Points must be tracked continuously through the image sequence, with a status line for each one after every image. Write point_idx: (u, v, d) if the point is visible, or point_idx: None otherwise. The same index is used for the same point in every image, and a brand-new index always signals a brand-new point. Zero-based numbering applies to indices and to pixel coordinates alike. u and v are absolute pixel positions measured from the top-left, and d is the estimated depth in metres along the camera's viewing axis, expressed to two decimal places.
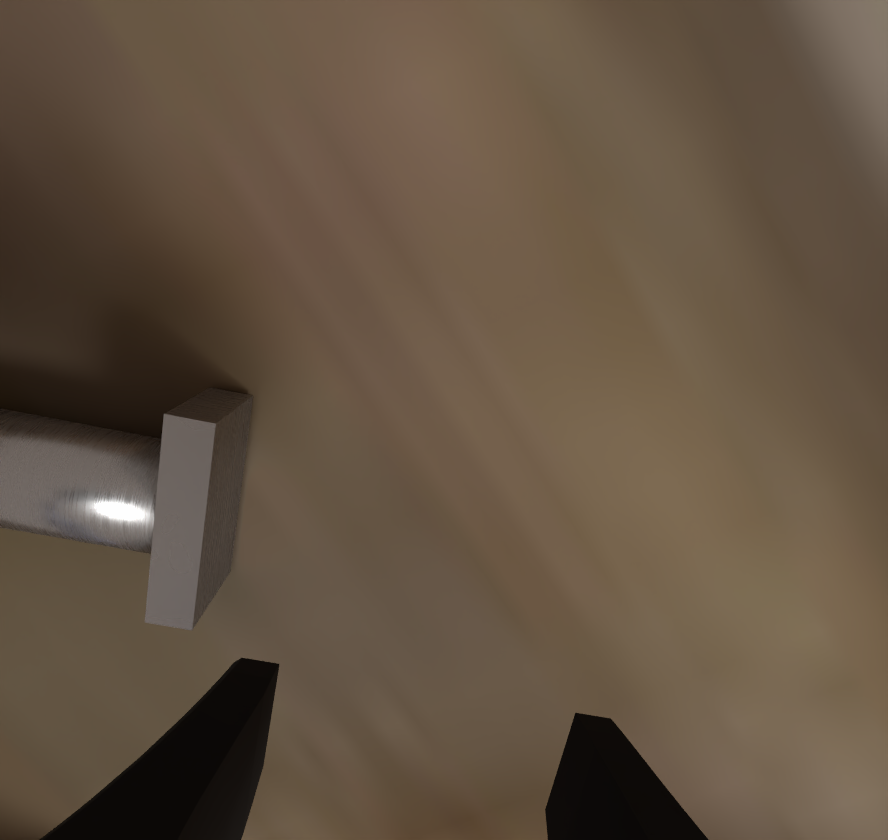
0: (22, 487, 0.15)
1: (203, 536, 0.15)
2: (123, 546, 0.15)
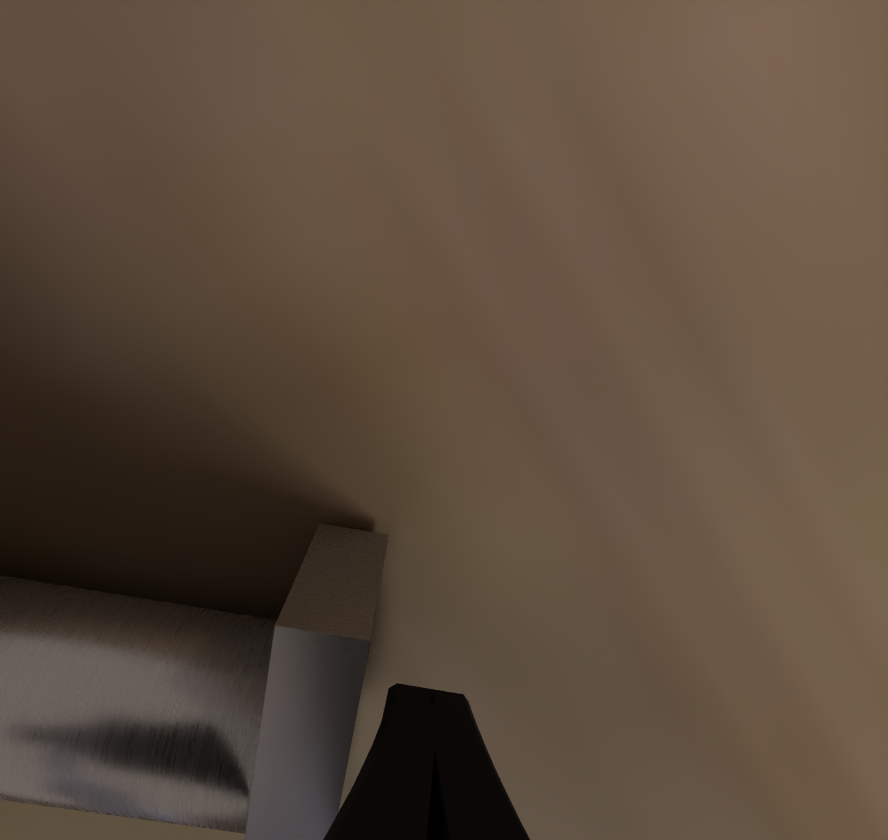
0: (13, 749, 0.08)
1: None
2: (191, 825, 0.09)
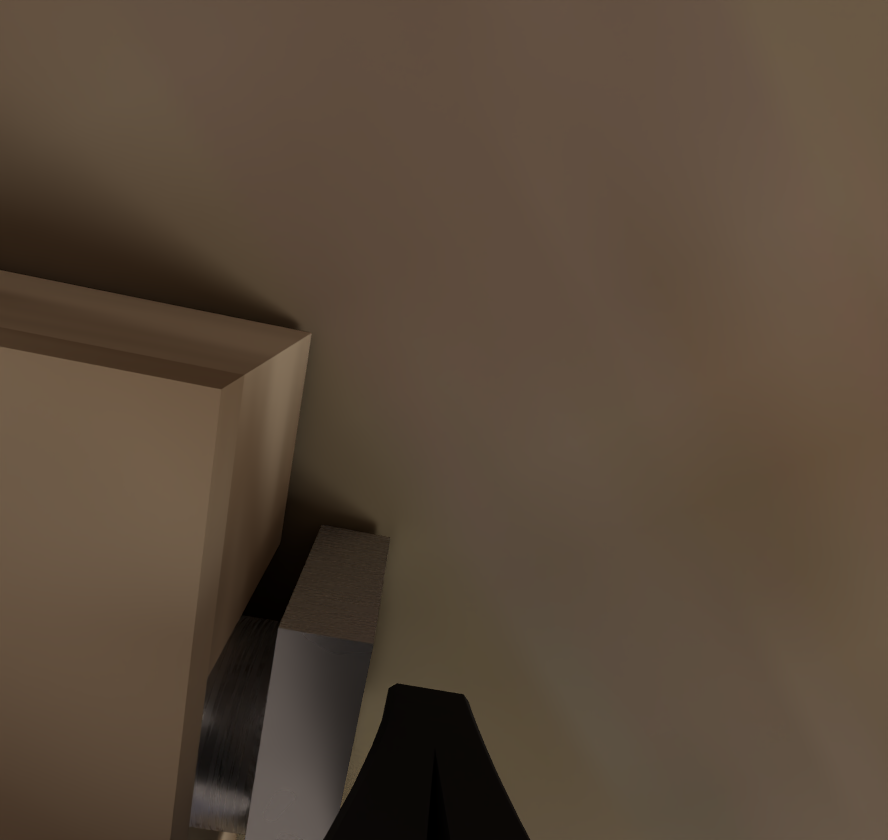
0: None
1: None
2: (191, 826, 0.09)
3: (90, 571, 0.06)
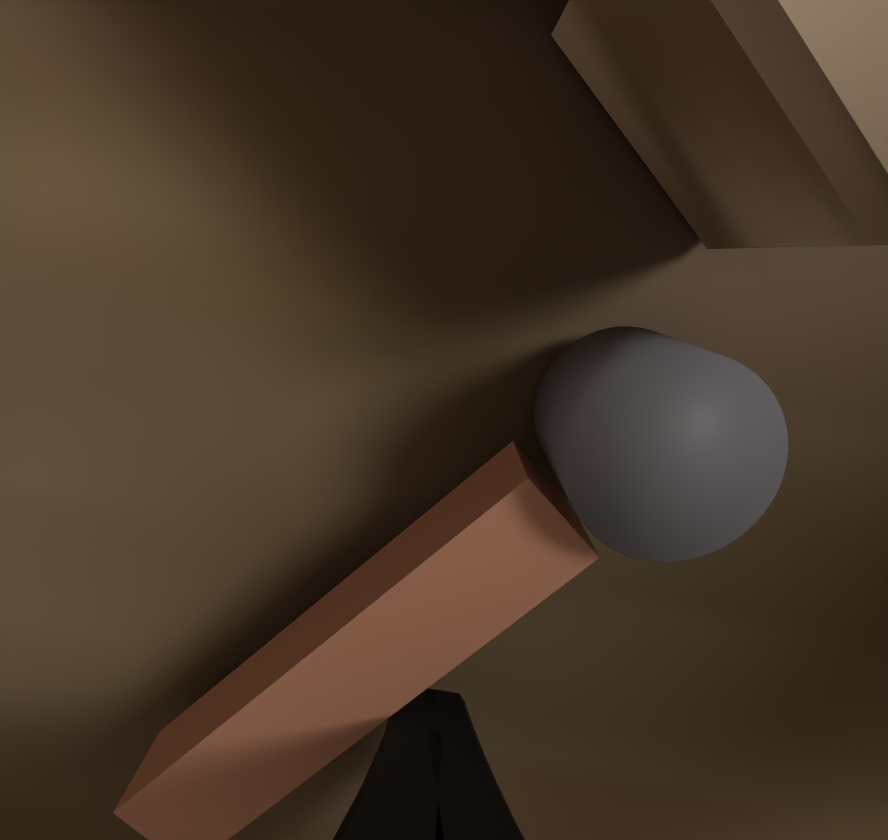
0: None
1: None
2: None
3: None
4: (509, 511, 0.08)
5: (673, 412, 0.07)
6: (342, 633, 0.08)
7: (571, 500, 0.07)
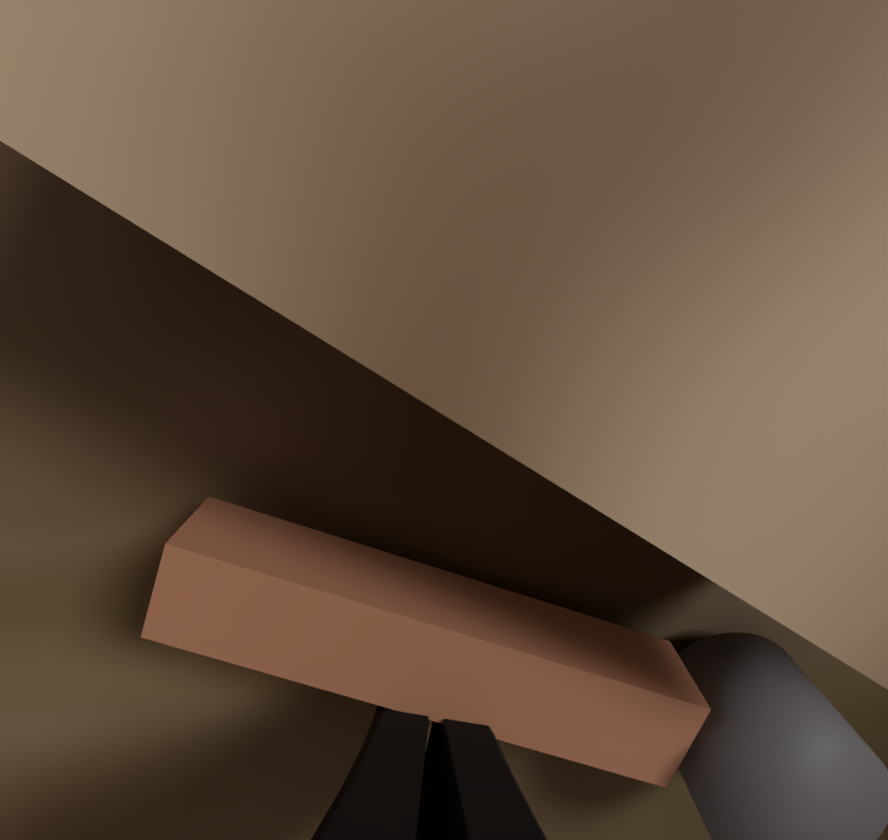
0: None
1: None
2: None
3: None
4: (676, 711, 0.09)
5: (838, 789, 0.08)
6: (494, 648, 0.08)
7: (735, 764, 0.08)
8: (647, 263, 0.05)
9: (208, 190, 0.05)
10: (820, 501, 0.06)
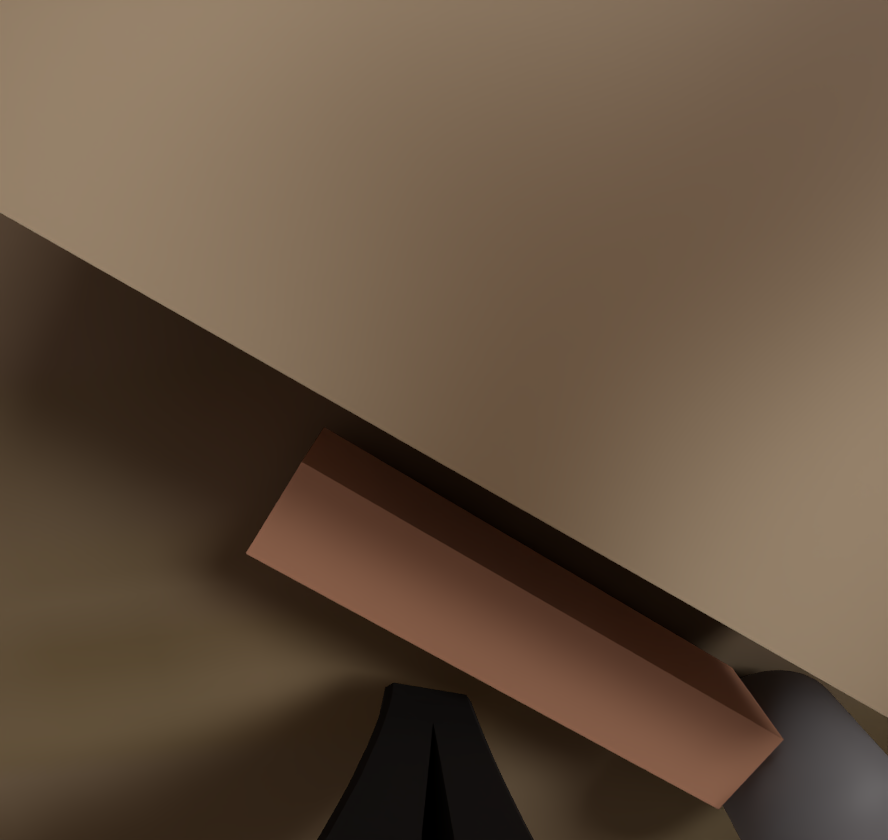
0: None
1: None
2: None
3: None
4: (750, 735, 0.09)
5: None
6: (597, 638, 0.08)
7: (804, 796, 0.08)
8: (709, 357, 0.05)
9: (287, 302, 0.05)
10: (879, 575, 0.06)
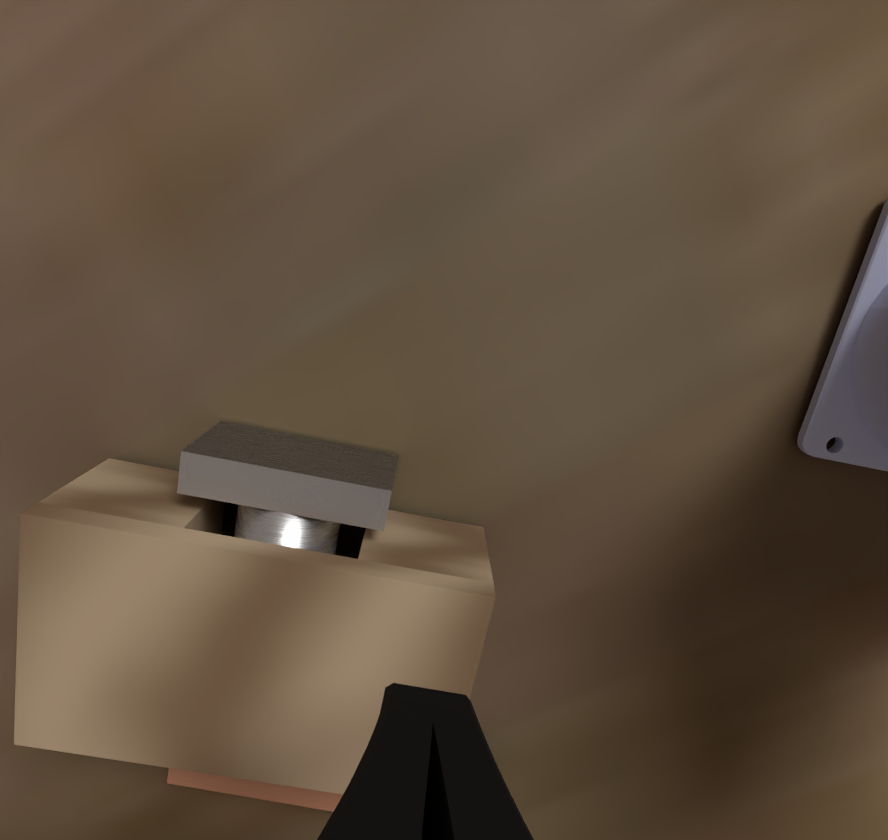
0: None
1: (293, 471, 0.16)
2: (316, 540, 0.17)
3: (103, 566, 0.15)
4: None
5: None
6: None
7: None
8: (243, 720, 0.17)
9: (119, 744, 0.17)
10: (334, 759, 0.17)
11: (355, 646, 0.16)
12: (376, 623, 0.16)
